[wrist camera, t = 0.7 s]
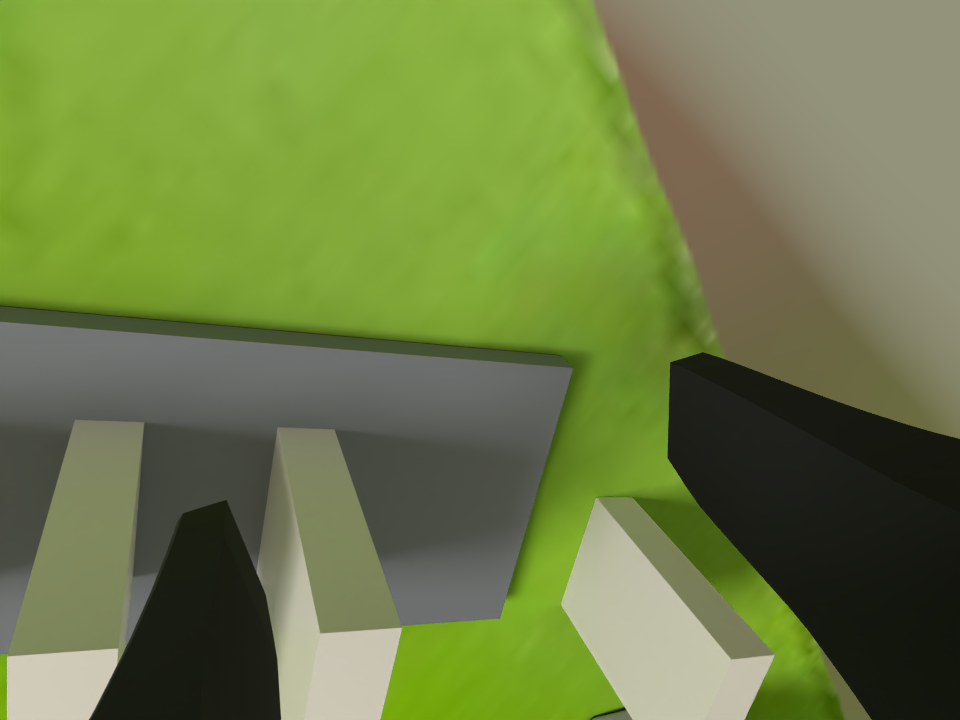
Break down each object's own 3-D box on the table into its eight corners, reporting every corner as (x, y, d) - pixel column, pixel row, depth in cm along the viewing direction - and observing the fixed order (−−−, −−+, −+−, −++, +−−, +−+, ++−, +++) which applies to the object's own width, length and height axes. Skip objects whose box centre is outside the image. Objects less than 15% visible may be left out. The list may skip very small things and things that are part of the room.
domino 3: (595, 602, 30) (716, 779, 23) (560, 604, 29) (674, 787, 22) (632, 497, 28) (775, 654, 21) (596, 497, 27) (731, 659, 20)
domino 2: (309, 570, 23) (359, 806, 16) (256, 571, 22) (285, 820, 15) (334, 429, 21) (401, 627, 14) (277, 427, 21) (320, 633, 14)
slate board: (490, 599, 27) (499, 618, 27) (-521, 660, 17) (-558, 694, 16) (559, 355, 24) (573, 367, 23) (-655, 248, 14) (-710, 264, 13)
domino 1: (132, 577, 21) (104, 850, 14) (68, 579, 20) (7, 866, 13) (144, 421, 19) (118, 648, 12) (74, 419, 19) (6, 656, 12)
